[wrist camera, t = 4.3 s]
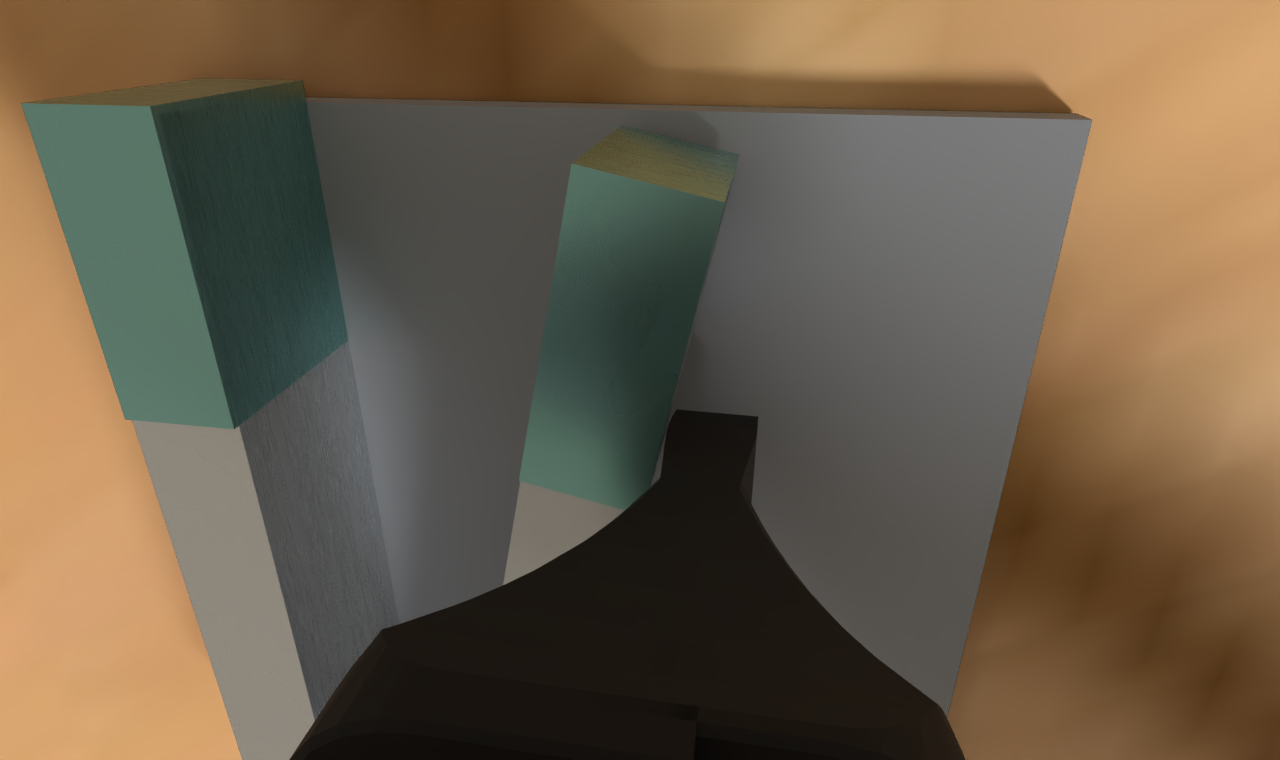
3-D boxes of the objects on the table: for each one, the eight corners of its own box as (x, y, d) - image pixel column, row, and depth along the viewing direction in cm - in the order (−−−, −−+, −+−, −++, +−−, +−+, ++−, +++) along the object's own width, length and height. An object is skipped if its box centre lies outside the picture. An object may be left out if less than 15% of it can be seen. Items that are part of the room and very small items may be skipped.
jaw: (573, 782, 16) (536, 917, 14) (500, 760, 16) (450, 890, 14) (739, 154, 10) (724, 202, 8) (621, 124, 10) (571, 164, 8)
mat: (863, 1023, 20) (865, 1051, 19) (383, 931, 22) (372, 955, 21) (1076, 113, 10) (1092, 119, 10) (179, 94, 12) (151, 98, 12)
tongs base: (597, 961, 21) (557, 1161, 17) (411, 926, 21) (336, 1110, 18) (560, 80, 11) (453, 119, 8) (227, 75, 12) (-13, 107, 8)
